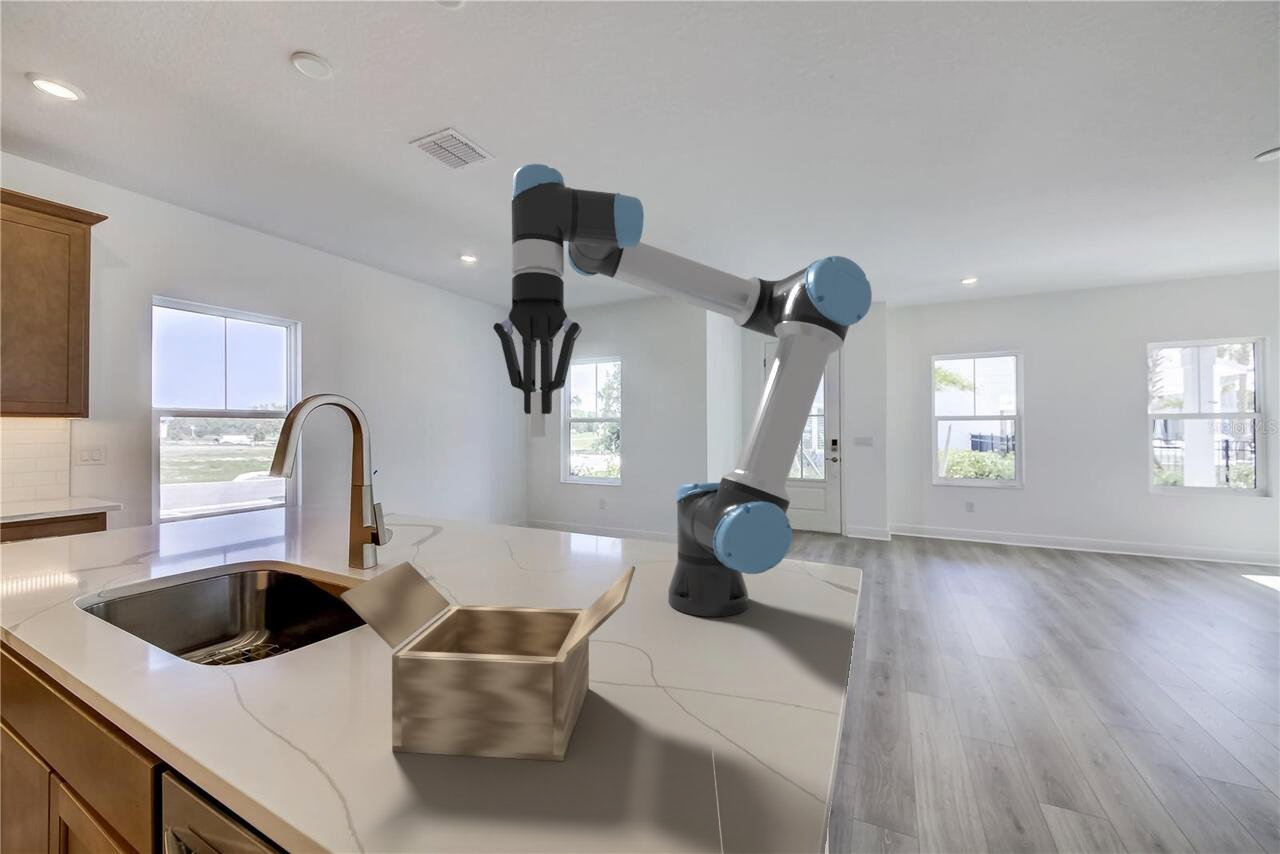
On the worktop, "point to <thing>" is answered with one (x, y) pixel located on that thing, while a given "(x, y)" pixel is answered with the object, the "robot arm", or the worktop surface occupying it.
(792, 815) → the worktop surface
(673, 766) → the worktop surface
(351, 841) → the worktop surface
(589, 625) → the flap
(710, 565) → the robot arm
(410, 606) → the flap
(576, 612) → the carton
